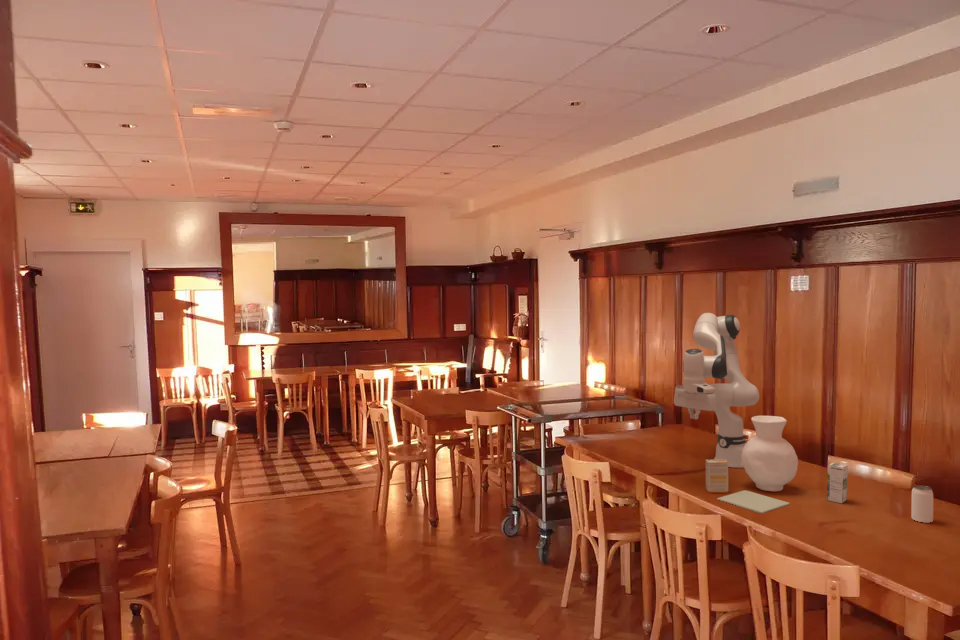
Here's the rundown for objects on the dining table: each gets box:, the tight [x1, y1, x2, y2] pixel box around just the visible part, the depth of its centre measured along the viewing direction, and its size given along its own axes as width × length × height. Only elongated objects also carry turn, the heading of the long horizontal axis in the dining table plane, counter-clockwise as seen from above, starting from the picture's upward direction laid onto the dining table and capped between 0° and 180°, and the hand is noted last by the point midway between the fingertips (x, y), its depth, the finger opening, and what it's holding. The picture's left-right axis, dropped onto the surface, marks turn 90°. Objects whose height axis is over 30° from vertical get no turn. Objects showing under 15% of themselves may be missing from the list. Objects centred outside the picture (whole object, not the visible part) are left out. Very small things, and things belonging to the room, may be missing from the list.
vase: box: [741, 415, 799, 492], centre depth 273 cm, size 19×21×30 cm
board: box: [716, 489, 791, 514], centre depth 257 cm, size 18×20×1 cm
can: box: [910, 484, 934, 524], centre depth 233 cm, size 6×6×12 cm
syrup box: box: [826, 462, 849, 504], centre depth 256 cm, size 6×6×14 cm
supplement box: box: [705, 458, 729, 494], centre depth 271 cm, size 8×5×13 cm, turn 84°
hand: (694, 418), depth 280 cm, fingers closed
